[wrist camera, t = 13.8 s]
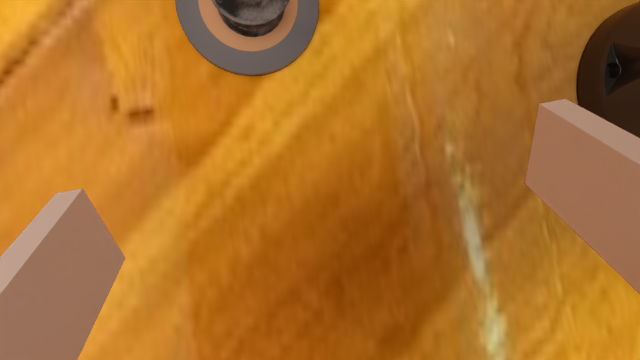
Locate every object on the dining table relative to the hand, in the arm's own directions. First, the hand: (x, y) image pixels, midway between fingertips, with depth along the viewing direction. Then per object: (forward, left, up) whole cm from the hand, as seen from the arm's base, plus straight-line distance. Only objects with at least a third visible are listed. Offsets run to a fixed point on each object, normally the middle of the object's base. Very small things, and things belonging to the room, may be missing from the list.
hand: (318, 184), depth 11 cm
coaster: (+12, -6, -20) cm, 24 cm away
